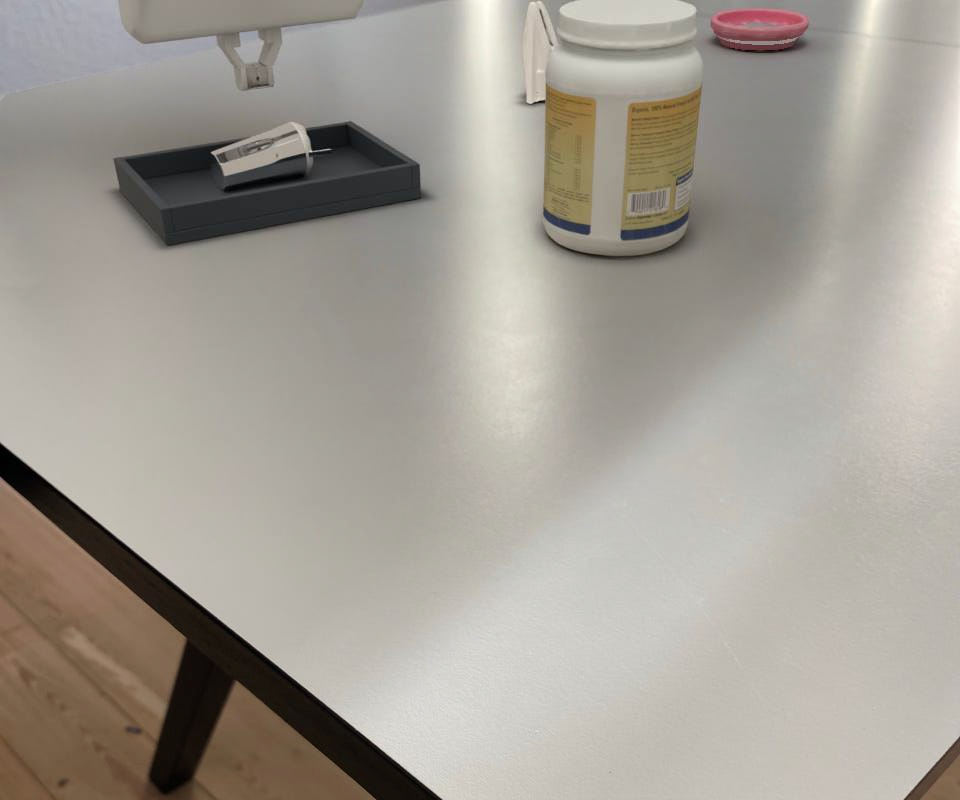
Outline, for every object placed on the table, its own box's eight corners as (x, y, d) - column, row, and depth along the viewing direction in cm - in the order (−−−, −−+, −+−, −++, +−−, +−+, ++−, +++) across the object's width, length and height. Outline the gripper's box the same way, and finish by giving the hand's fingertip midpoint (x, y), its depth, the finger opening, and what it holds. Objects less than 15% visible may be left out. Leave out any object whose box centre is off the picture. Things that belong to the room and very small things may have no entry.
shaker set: (612, 85, 131) (619, -23, 124) (627, 94, 128) (635, -16, 121) (516, 95, 128) (517, -15, 121) (528, 104, 125) (530, -8, 118)
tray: (167, 245, 93) (160, 209, 92) (120, 191, 104) (113, 158, 102) (421, 198, 102) (419, 164, 100) (353, 152, 112) (351, 120, 111)
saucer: (689, 44, 147) (691, 17, 145) (746, 29, 153) (750, 2, 151) (767, 60, 140) (771, 32, 138) (824, 43, 146) (829, 16, 144)
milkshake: (223, 154, 96) (327, 125, 100) (201, 139, 100) (301, 111, 103) (235, 206, 100) (335, 176, 103) (213, 190, 103) (310, 161, 106)
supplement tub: (692, 214, 98) (716, -6, 87) (679, 266, 89) (705, 28, 78) (554, 205, 100) (561, -12, 89) (528, 255, 91) (532, 21, 80)
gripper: (337, -116, 94) (351, 64, 103) (93, -98, 87) (131, 95, 96) (368, -108, 90) (379, 79, 99) (114, -88, 82) (151, 113, 91)
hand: (255, 87), depth 97 cm, fingers closed
